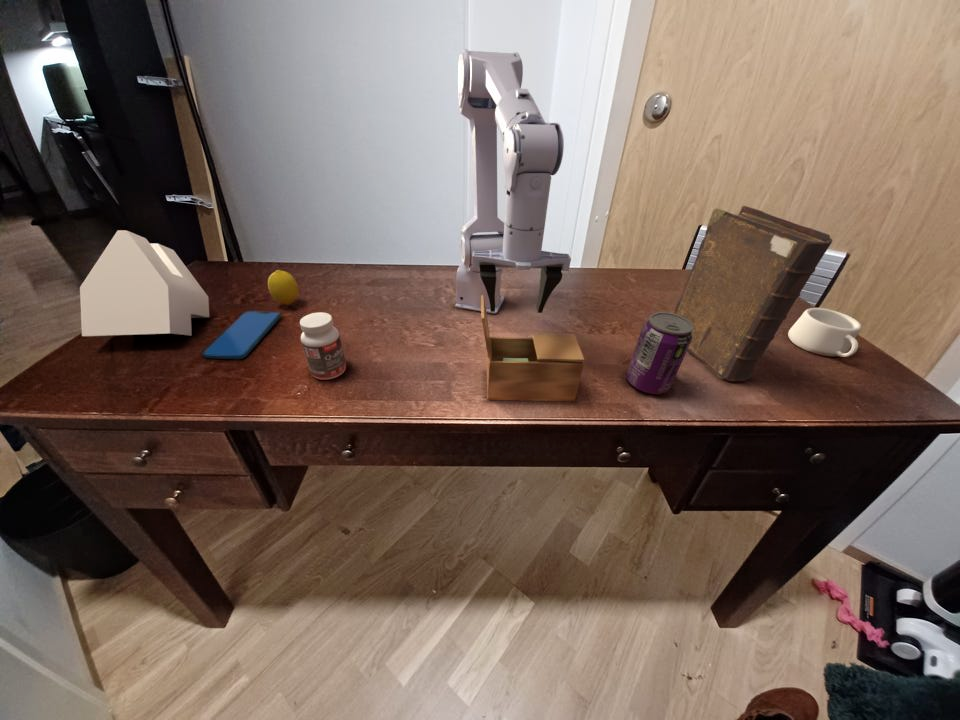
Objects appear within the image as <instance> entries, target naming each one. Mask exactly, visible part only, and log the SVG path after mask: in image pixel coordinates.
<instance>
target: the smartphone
mask: <svg viewBox="0 0 960 720" xmlns="http://www.w3.org/2000/svg"><path fill="white" fill-rule="evenodd" d="M281 316H282V315H281V314H280V312H278V311H259V310H257V311H256V310H248V311H245V312H243V313H242V314H241V315H240V316H239V317H238V318H237V319H235V321H234V322H233V323H232V324H231V325H230V326H228V328H226V329H225V330H224V331H223V332H222V333H221V334H220V335H219V336H218V337H217V338H216V339H215V340H214V341H213V342H212V343H211V344H209V346H208V347H206V349H205V350H203V352H202V356H203V357H204V358H205V359H219V360H220V359H221V360H223V359H224V360H241V359H242V360H243V359H244V358H246V357H247V356H248V355H249V354H250V353H251V351H253V349H254V348H255V347H256V346H257V344H258V343H260V341H261V340H262V339H263V338H264V337H265V335H267V333H269V331H270V330H271V329H272V327H273V326H274V325H276V323H277V322H278V321H279V320H280V318H281Z"/></svg>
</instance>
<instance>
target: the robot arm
mask: <svg viewBox="0 0 960 720" xmlns="http://www.w3.org/2000/svg"><path fill="white" fill-rule="evenodd" d="M523 67H524V66H523V61H522V58H521V55H520V54H519V52H517V51H516V52H515V51H514V52H497V51H496V52H495V51H479V50H478V51H477V50H469V49H465V48H464V49H462V51H461V53H459V56H458V63H457V83H458V84H457V87H458V91H457V92H458V106H459V109H460V110H459V111H460V114H461V116H463V117H465V118H466V119H468V121H469V127H470V133H471V156H472V159H471V160H472V186H473V188H472V189H473V217H471V219H470V220H469V221H468V222H466V223H465V224H463V226H462V228H461V231H460V244H459V246H460V247H459V248H460V258H461V262H460V264H459V265H458V268H457V271H456V278H455V297H456V298H455V299H456V300H455V301H456V303H455V307H456V308H459V309H465V310H469V311H470V310H471V311H476V312H481V295H484V300H485V307H486V313H488V314H493V315H496V314H497V313H498V311H499V310H500V308H501V306H502V304H503V303H504V300H505V296H503V295H501V287H502V286H501V285H502V272H503V270H505V268H515V269H516V270H519V271H520V270H521V271H525V270H526V271H529V270H531V269H540V278H539V288H538V293H537V299H536V304H535V305H536V306H535V307H536V311H537V313H538V314H542V313H543V311H544V309H545V306H546V304H547V302H548V300H549V298H550V296H551V295H552V294H553V291H554V290H555V289H556V288H557V287H558V285H559V284H560V283H561V281H562V279H563V273H562V271H563V272H564V271H565V272H569V271H570V266H571V262H572V261H571V260H572V258H571V256H570V254H569V253H560V252H553V251H546V250H543V242H544V235H545V228H546V220H547V213H548V205H549V200H550V199H549V198H550V190H551V183H552V176H555V175H557V173H558V171H560V167H561V165H562V162H563V157H564V148H565V146H564V145H565V142H564V140H565V139H564V133H563V130H562V127H561V124H560V122H559V123H558V122H546V121H545V119H544V117H543V115H542V113H541V111H540V109H539V107H538V105H537V103H536V101H535V99H534V98H533V95H532V94H530V90H529V89H528V88H522V84H523V75H524V68H523ZM498 131H499V134H500V136H501V140H502V142H503V148H502V161H503V171H504V172H503V173H504V175H503V183H504V184H503V185H504V189H506V194H505V195H506V196H505V197H506V198H505V209H504V221H503V220H502V219H500V217H499V216H498V215H499V214H498ZM477 233H486V234H477Z"/></svg>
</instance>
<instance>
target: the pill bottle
mask: <svg viewBox="0 0 960 720" xmlns="http://www.w3.org/2000/svg"><path fill="white" fill-rule="evenodd" d="M299 325H300V329H301V332H302V333H301V334H300V342H301V345H302V348H303V352H304V355H305V359H306V361H307V362H306V363H307V365H308V368H309V371H310V374H311V376H312V377H314V379H317V380H321V381H326V380H327V381H328V380H334V379H336V378H338V377H340V376H341V375H343V374H344V373H345V371H346V369H347V362H346V358H345V352H344V349H343V344H342V341H341V336H340V333H339V330H338V328H336V326H334V325H335V324H334V320H333V317H332V315H331V314H330V313H327V312H322V311H321V312H320V311H319V312H312V313H309V314H307V315H305V316H303V317H301V318H300V320H299Z"/></svg>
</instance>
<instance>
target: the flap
mask: <svg viewBox="0 0 960 720" xmlns="http://www.w3.org/2000/svg"><path fill="white" fill-rule="evenodd" d="M480 312H481V313H480V315H481V323H482V329H483V335H484V341H485V346H486V347H485V348H486V352H487V354H488V358H491V348H490V337H491V335H490V334H491V333H490V325H489V319H488V314H487V312H486V307H485V300H484V295H481V311H480Z"/></svg>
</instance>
